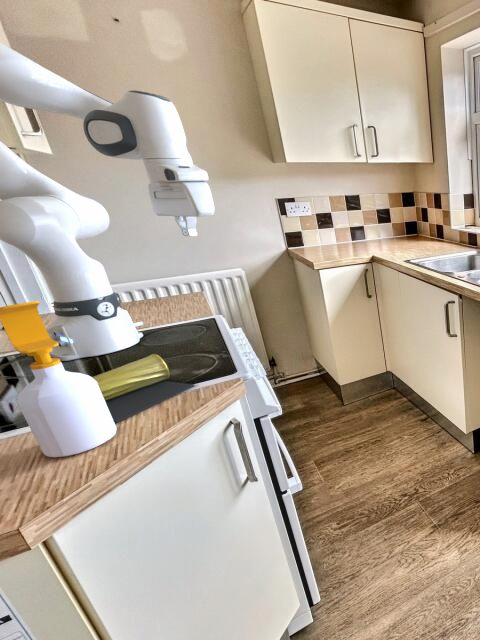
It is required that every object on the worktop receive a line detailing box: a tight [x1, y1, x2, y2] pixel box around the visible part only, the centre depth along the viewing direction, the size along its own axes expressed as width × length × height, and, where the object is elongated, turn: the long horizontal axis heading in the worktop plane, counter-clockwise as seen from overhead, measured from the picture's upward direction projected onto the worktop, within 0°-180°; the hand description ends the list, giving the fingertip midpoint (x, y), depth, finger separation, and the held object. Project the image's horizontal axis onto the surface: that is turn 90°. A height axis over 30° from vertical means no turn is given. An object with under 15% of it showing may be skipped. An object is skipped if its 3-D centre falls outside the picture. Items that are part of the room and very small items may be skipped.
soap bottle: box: [0, 300, 117, 458], centre depth 67 cm, size 9×9×25 cm
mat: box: [105, 380, 195, 424], centre depth 86 cm, size 20×15×1 cm
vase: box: [91, 353, 170, 401], centre depth 87 cm, size 6×6×14 cm
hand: (190, 236), depth 100 cm, fingers closed
